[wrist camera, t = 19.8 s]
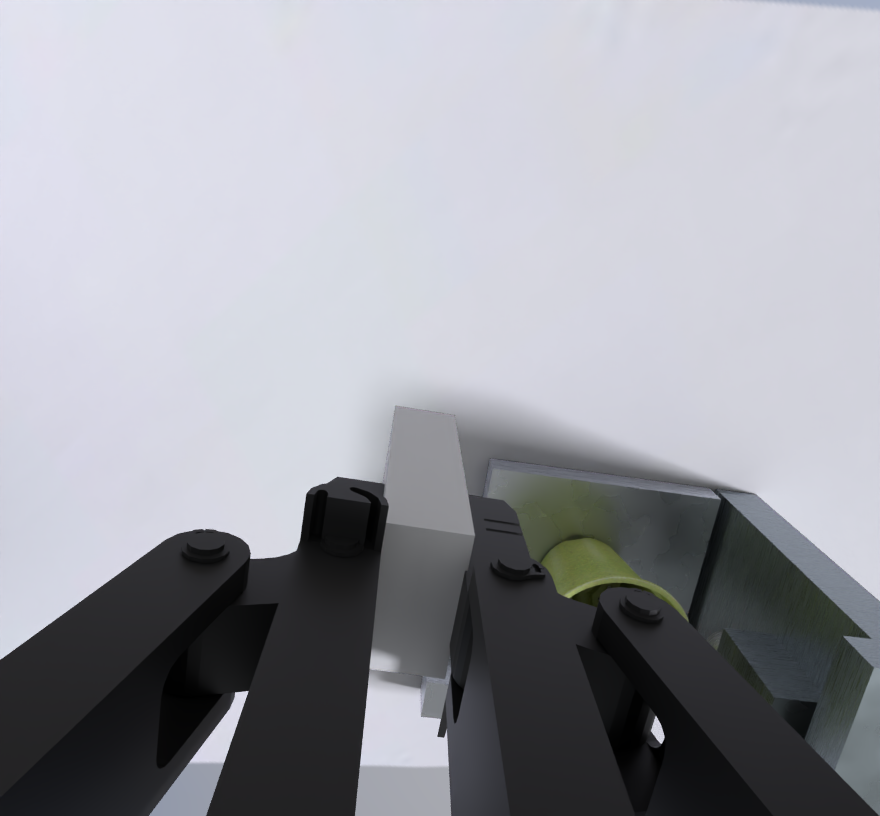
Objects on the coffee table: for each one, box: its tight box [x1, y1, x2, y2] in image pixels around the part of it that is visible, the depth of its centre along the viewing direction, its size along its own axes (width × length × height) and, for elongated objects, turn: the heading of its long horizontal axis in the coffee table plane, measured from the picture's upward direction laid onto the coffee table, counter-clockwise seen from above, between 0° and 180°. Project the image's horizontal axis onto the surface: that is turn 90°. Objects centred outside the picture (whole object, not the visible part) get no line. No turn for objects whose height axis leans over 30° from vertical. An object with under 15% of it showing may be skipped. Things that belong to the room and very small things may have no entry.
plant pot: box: [541, 538, 689, 622], centre depth 46 cm, size 9×9×9 cm
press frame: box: [421, 458, 880, 816], centre depth 43 cm, size 23×20×20 cm
